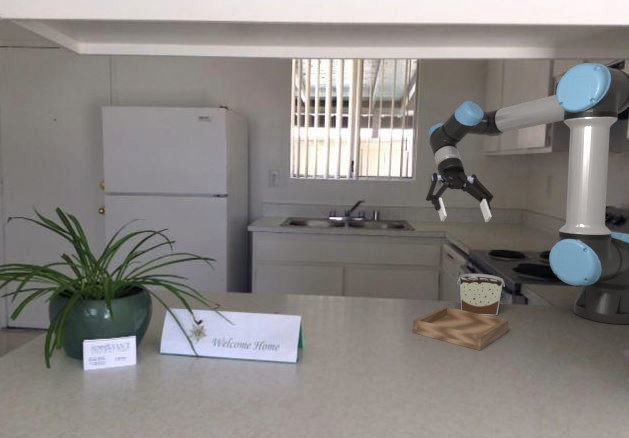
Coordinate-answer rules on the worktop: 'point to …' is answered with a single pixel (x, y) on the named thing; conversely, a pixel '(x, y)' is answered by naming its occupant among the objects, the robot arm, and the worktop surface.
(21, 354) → the worktop surface
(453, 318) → the walnut pocket tray
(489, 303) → the food container
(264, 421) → the worktop surface
